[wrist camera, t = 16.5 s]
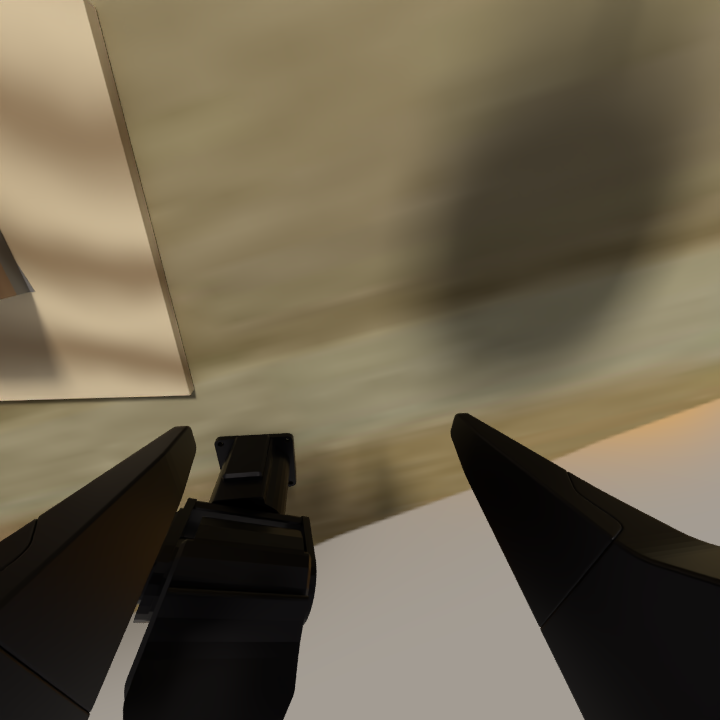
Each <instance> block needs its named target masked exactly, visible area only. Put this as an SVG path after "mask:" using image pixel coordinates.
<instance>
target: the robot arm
mask: <svg viewBox="0 0 720 720" xmlns="http://www.w3.org/2000/svg"><path fill="white" fill-rule="evenodd" d="M451 438H452V441H453V443H454V446H455V449H456V452H457V454H458V457H459V460H460V462H461V465H462V468H463V470H464V473H465V475H466V478H467V480H468V482H469V484H470V486H471V488H472V490H473V492H474V494H475V496H476V498H477V500H478V502H479V504H480V506H481V508H482V510H483V512H484V514H485V516H486V519H487V521H488V523H489V525H490V527H491V528H492V531H493V533H494V535H495V537H496V539H497V541H498V543H499V545H500V547H501V549H502V551H503V553H504V555H505V557H506V559H507V562H508V564H509V566H510V568H511V570H512V572H513V574H514V575H515V578H516V580H517V582H518V584H519V586H520V588H521V590H522V592H523V594H524V596H525V598H526V600H527V602H528V604H529V606H530V609H531V611H532V613H533V615H534V617H535V619H536V621H537V623H538V625H539V626H540V627H541V628H540V629H541V631H542V633H543V636H544V638H545V639H546V642H547V644H548V646H549V648H550V650H551V652H552V654H553V656H554V658H555V660H556V662H557V664H558V666H559V668H560V670H561V672H562V674H563V676H564V678H565V680H566V683H567V684H568V686H569V689H570V691H571V693H572V695H573V697H574V699H575V701H576V703H577V705H578V707H579V709H580V711H581V713H582V715H583V717H584V719H585V720H720V546H716V545H713V544H709V543H707V542H704V541H701V540H698V539H696V538H693V537H691V536H688V535H686V534H684V533H682V532H680V531H678V530H676V529H674V528H672V527H670V526H669V525H667V524H665V523H663V522H661V521H659V520H657V519H655V518H653V517H651V516H649V515H647V514H645V513H643V512H641V511H639V510H638V509H636V508H634V507H632V506H630V505H628V504H626V503H624V502H622V501H620V500H618V499H616V498H615V497H613V496H611V495H609V494H607V493H605V492H603V491H601V490H600V489H598V488H596V487H594V486H592V485H591V484H589V483H587V482H585V481H584V480H582V479H580V478H578V477H576V476H575V475H573V474H572V473H570V472H567V471H566V470H565V469H563V468H561V467H559V466H558V465H556V464H554V463H553V462H551V461H549V460H547V459H546V458H544V457H542V456H540V455H539V454H537V453H535V452H534V451H532V450H530V449H528V448H527V447H525V446H523V445H522V444H520V443H518V442H516V441H515V440H513V439H511V438H509V437H508V436H506V435H504V434H503V433H501V432H499V431H497V430H496V429H494V428H492V427H490V426H489V425H487V424H485V423H484V422H482V421H480V420H478V419H477V418H475V417H473V416H472V415H470V414H468V413H458V414H456V415H455V417H454V420H453V424H452V428H451ZM287 439H288V440H287ZM220 442H222V443H220ZM214 445H215V449H216V453H217V457H218V461H219V465H220V469H221V472H220V474H219V477H218V480H217V482H216V485H215V488H214V490H213V493H212V496H211V498H210V501H209V503H208V502H202V501H197V499H192V498H188V500H187V502H186V504H185V506H184V508H180V510H179V511H178V512H176V511H177V509H178V506H179V504H180V501H181V499H182V496H183V493H184V490H185V486H186V483H187V480H188V476H189V473H190V470H191V466H192V463H193V460H194V457H195V453H196V443H195V440H194V436H193V433H192V430H191V428H190V427H189V426H177V427H174V428H172V429H170V430H169V431H167V432H166V433H164V434H163V435H161V436H160V437H158V438H157V439H155V440H154V441H152V442H151V443H149V444H148V445H146V446H145V447H143V448H142V449H140V450H139V451H137V452H136V453H134V454H133V455H131V456H130V457H128V458H126V459H125V460H123V461H122V462H120V463H119V464H117V465H116V466H114V467H113V468H111V469H110V470H108V471H107V472H105V473H104V474H102V475H101V476H99V477H98V478H96V479H95V480H93V481H92V482H90V483H89V484H87V485H86V486H84V487H83V488H81V489H80V490H78V491H77V492H75V493H74V494H72V495H71V496H69V497H68V498H66V499H64V500H63V501H61V502H60V503H58V504H57V505H55V506H54V507H52V508H51V509H49V510H48V511H46V512H45V513H43V514H42V515H40V516H39V517H38V519H34V520H33V521H31V522H30V523H28V524H27V525H25V526H24V527H22V528H21V529H19V530H18V531H16V532H14V533H13V534H11V535H10V536H8V537H7V538H5V539H4V540H2V541H1V542H0V720H88V718H89V715H90V713H89V712H90V711H91V710H92V708H93V705H94V703H95V701H96V698H97V696H98V694H99V691H100V689H101V687H102V684H103V682H104V680H105V677H106V675H107V673H108V670H109V668H110V666H111V663H112V661H113V658H114V656H115V654H116V652H117V649H118V647H119V645H120V642H121V640H122V637H123V635H124V633H125V631H126V628H127V626H128V623H129V621H130V619H131V617H132V614H133V612H134V609H135V607H136V605H137V604H139V607H138V610H137V612H136V615H135V618H134V623H149V624H148V627H147V629H146V632H145V634H144V637H143V640H142V642H141V644H140V647H139V649H138V652H137V655H136V657H135V660H134V662H133V665H132V667H131V670H130V672H129V675H128V677H127V680H126V683H125V690H124V698H125V701H124V706H123V720H283V719H284V717H285V714H286V712H287V709H288V707H289V704H290V702H291V700H292V698H293V695H294V691H295V682H296V672H297V663H298V654H299V646H300V640H301V634H302V628H303V625H304V623H305V622H306V620H307V619H308V616H309V614H310V611H311V607H312V603H313V599H314V593H315V587H316V559H315V552H314V546H313V540H312V534H311V527H310V521H309V517H306V516H301V517H297V516H291V515H285V509H286V499H287V490H288V487H290V486H294V485H295V484H296V470H295V455H294V440H293V435H292V434H290V433H282V434H262V435H243V436H224V437H218V438H217V439H216V441H215V444H214Z"/></svg>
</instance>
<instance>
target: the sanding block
mask: <svg viewBox="0 0 720 720" xmlns="http://www.w3.org/2000/svg"><path fill="white" fill-rule="evenodd" d="M28 292H30V290H29V288H28V286H27V284H26V282H25V280H24V278H23V276H22V274H21V272H20V270H19V268H18V266H17V264H16V262H15V259H14V257H13V255H12V253H11V251H10V249H9V247H8V245H7V243H6V241H5V239H4V237H3V235H2V233H1V231H0V300H1V299H5V298H9V297H13V296H16V295H20V294H24V293H28Z"/></svg>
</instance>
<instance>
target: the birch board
mask: <svg viewBox="0 0 720 720" xmlns="http://www.w3.org/2000/svg"><path fill="white" fill-rule="evenodd" d="M0 231H1V233H2V235H3V237H4V239H5V241H6V243H7V245H8V247H9V249H10V251H11V253H12V255H13V257H14V259H15V262H16V264H17V266H18V268H19V270H20V272H21V274H22V276H23V278H24V280H25V282H26V284H27V286H28V288H29V290H30V292H28V293H24V294H20V295H16V296H13V297H9V298H5V299H1V300H0V401H8V400H43V399H77V398H112V397H146V396H181V395H191V393H192V392H193V390H194V386H193V382H192V379H191V375H190V371H189V367H188V363H187V359H186V355H185V352H184V348H183V344H182V340H181V336H180V332H179V328H178V325H177V321H176V317H175V313H174V309H173V305H172V301H171V298H170V294H169V290H168V286H167V282H166V278H165V274H164V271H163V267H162V263H161V259H160V255H159V251H158V247H157V243H156V240H155V236H154V232H153V228H152V224H151V220H150V216H149V213H148V209H147V205H146V201H145V197H144V193H143V189H142V186H141V182H140V178H139V174H138V170H137V166H136V162H135V159H134V155H133V151H132V147H131V143H130V139H129V135H128V132H127V128H126V124H125V120H124V116H123V112H122V108H121V105H120V101H119V97H118V93H117V89H116V85H115V81H114V78H113V74H112V70H111V66H110V62H109V58H108V54H107V50H106V47H105V43H104V39H103V35H102V31H101V27H100V23H99V20H98V16H97V12H96V8H95V7H94V6H93V5H92V4H91V3H90V2H89V1H88V0H0Z"/></svg>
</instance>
